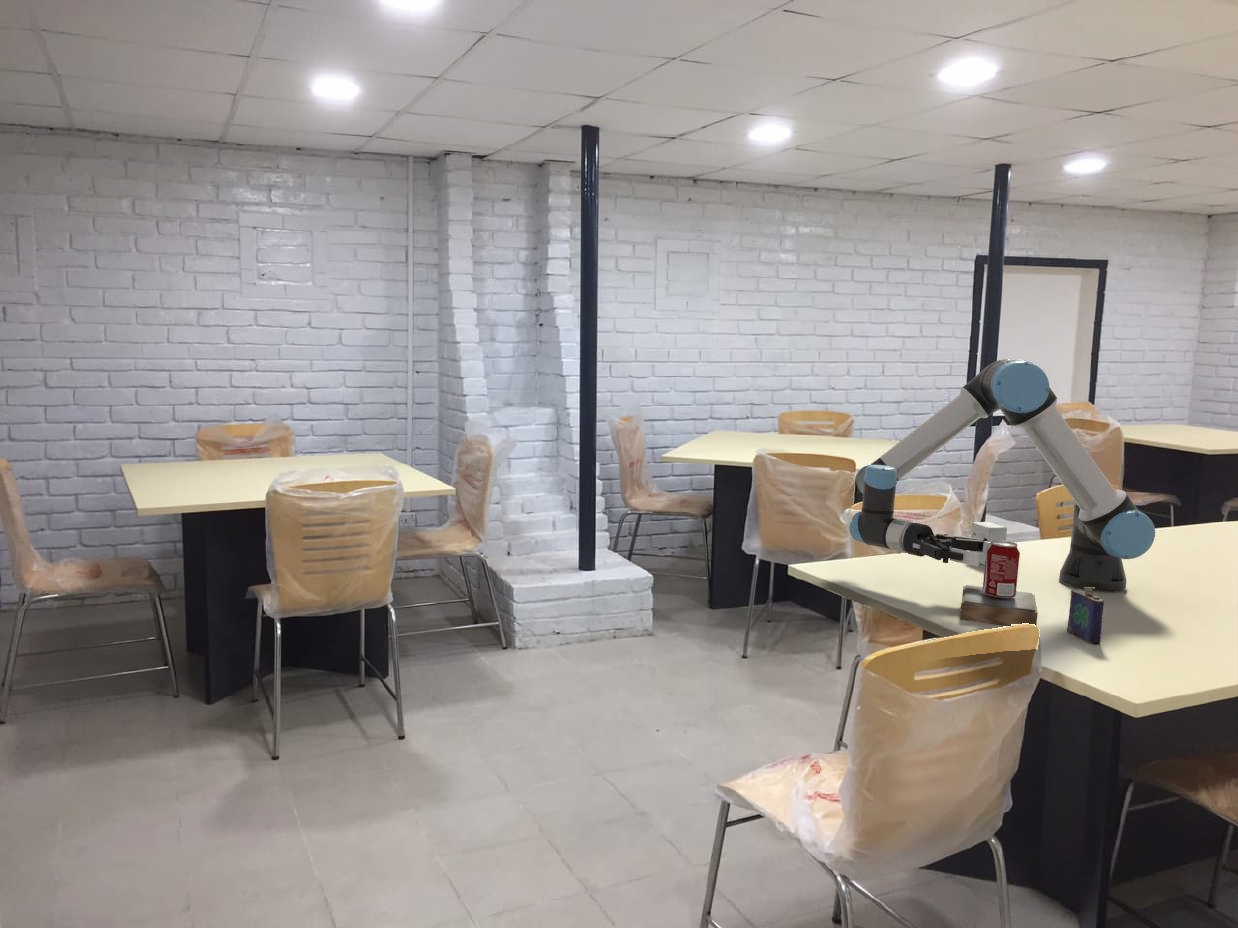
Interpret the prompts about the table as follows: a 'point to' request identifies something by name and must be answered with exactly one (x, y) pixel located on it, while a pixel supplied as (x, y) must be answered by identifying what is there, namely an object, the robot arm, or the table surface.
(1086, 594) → the flask
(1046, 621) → the table surface
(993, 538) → the small box
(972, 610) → the riser
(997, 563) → the soda can
